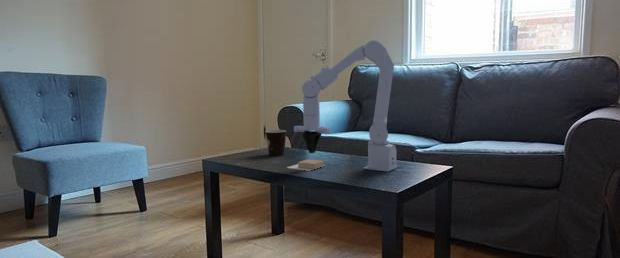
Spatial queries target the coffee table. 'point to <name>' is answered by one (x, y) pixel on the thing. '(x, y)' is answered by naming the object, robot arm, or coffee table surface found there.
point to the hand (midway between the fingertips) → (312, 152)
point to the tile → (310, 164)
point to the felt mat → (300, 168)
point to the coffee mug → (276, 142)
